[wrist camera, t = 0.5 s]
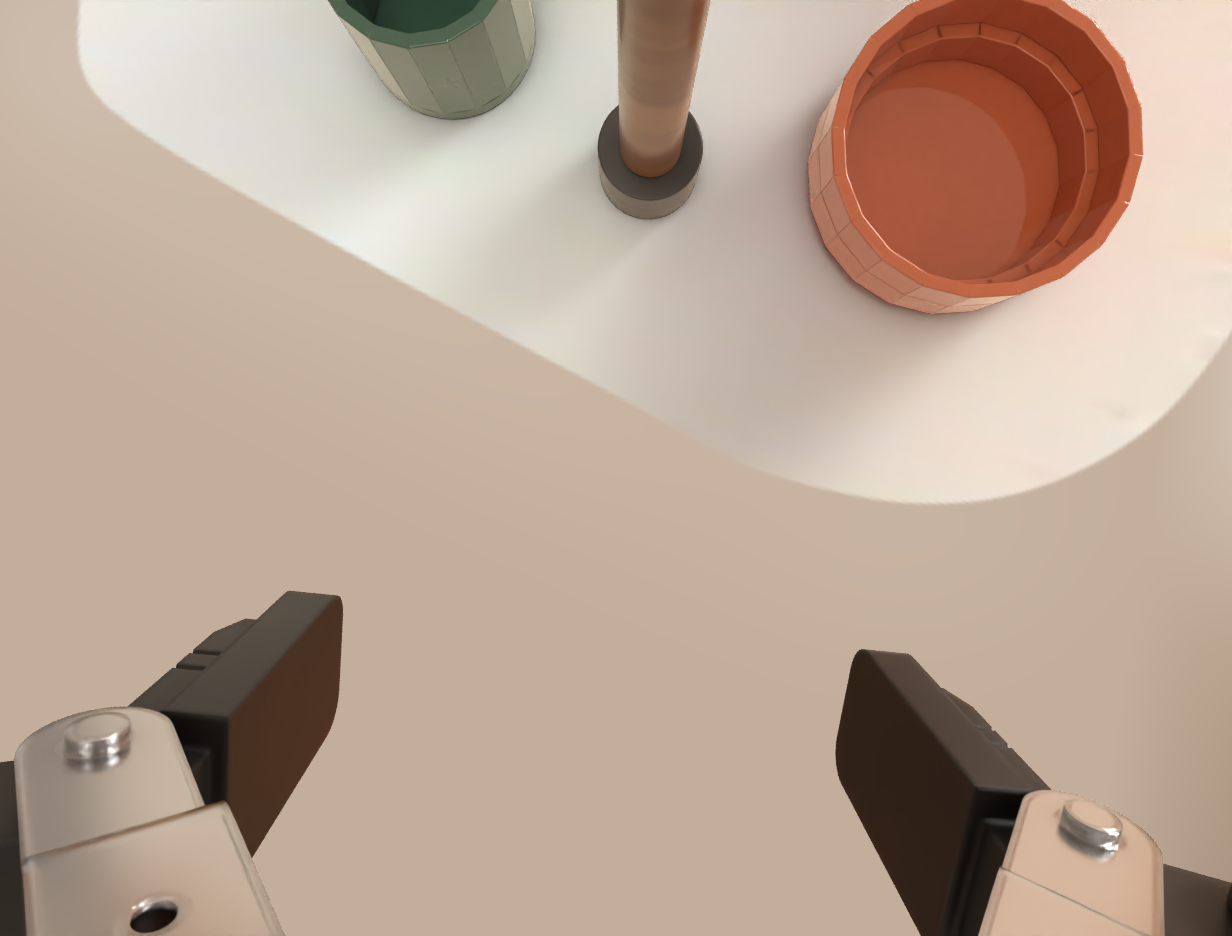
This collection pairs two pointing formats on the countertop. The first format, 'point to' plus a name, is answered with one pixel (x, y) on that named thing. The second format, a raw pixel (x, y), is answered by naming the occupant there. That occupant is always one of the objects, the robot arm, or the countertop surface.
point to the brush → (654, 108)
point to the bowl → (975, 152)
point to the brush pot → (444, 50)
